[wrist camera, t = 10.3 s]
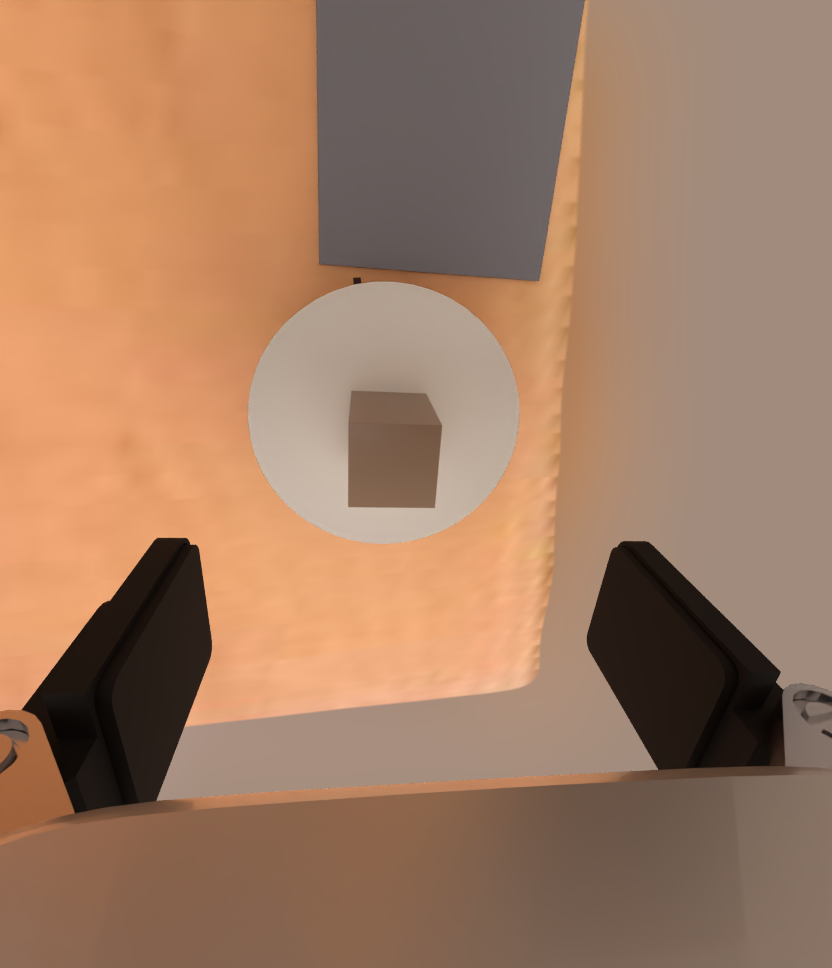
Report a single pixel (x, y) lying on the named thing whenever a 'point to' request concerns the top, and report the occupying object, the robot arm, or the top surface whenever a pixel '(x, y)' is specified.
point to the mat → (441, 131)
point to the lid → (383, 412)
